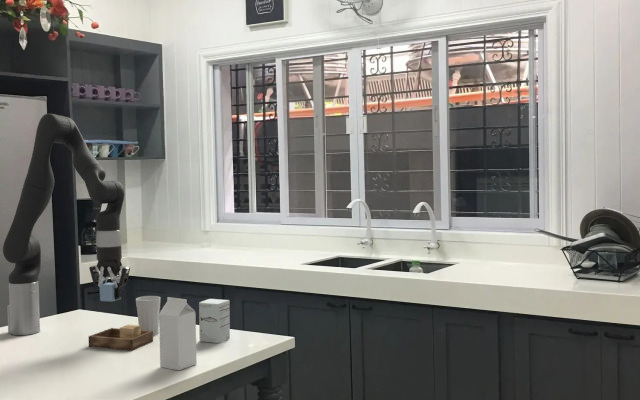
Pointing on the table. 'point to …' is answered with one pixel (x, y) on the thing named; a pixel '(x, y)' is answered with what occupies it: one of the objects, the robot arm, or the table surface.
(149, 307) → the cup
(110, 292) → the slate block
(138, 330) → the oak block
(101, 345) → the tray
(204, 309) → the supplement box
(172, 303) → the milk carton
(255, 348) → the table surface
